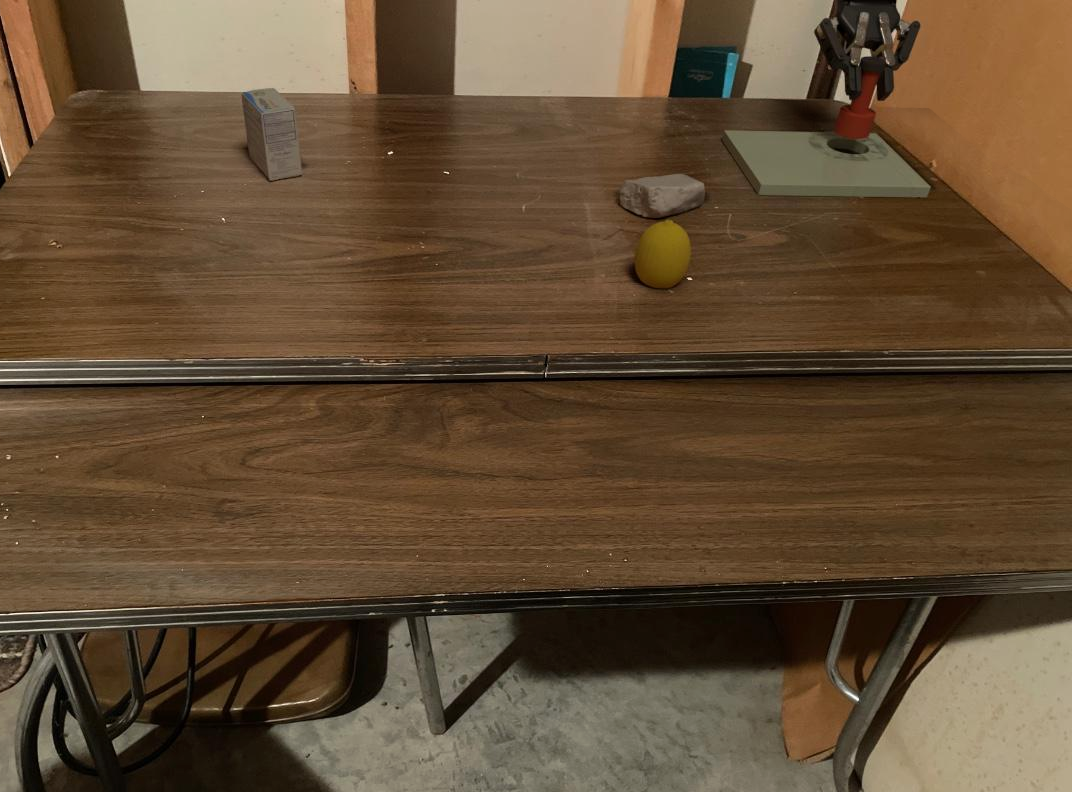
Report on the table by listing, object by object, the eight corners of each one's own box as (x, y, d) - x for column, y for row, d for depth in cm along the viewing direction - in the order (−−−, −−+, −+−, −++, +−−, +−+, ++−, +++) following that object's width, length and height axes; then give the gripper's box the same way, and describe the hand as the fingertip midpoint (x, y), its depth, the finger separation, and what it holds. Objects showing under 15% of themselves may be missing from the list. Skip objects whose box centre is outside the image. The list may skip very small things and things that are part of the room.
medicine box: (303, 176, 114) (297, 107, 109) (268, 182, 113) (260, 112, 107) (281, 153, 120) (275, 86, 114) (248, 159, 118) (240, 90, 112)
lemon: (619, 283, 97) (630, 213, 92) (663, 274, 99) (676, 204, 94) (648, 309, 93) (661, 237, 88) (693, 298, 95) (708, 228, 90)
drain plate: (872, 142, 131) (875, 132, 130) (926, 198, 117) (931, 186, 116) (721, 139, 129) (723, 129, 128) (758, 195, 115) (761, 184, 114)
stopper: (861, 126, 126) (884, 54, 120) (874, 139, 123) (898, 66, 116) (829, 126, 126) (850, 54, 120) (840, 138, 122) (863, 65, 116)
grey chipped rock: (677, 222, 116) (689, 176, 114) (708, 230, 111) (722, 181, 109) (613, 209, 112) (625, 160, 110) (642, 217, 106) (656, 165, 105)
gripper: (825, -48, 116) (830, 82, 115) (932, -44, 117) (938, 85, 116) (800, -13, 124) (805, 109, 122) (901, -10, 125) (906, 112, 123)
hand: (870, 97), depth 119 cm, fingers closed on stopper, 3 cm apart
